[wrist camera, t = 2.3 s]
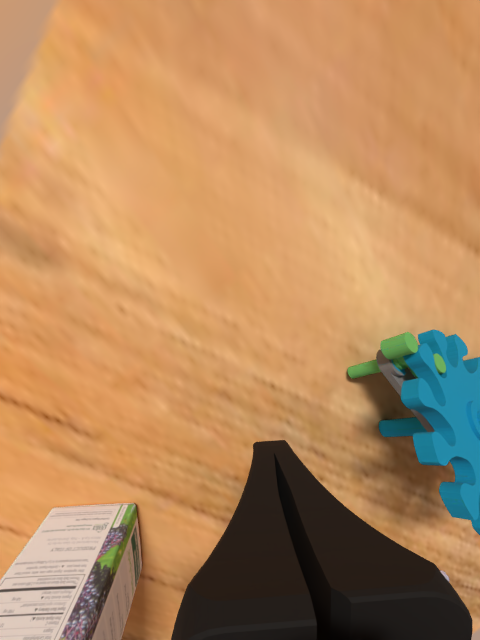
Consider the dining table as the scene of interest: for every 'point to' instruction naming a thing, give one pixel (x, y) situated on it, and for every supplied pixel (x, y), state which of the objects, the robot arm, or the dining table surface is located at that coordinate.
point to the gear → (436, 409)
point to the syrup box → (74, 576)
